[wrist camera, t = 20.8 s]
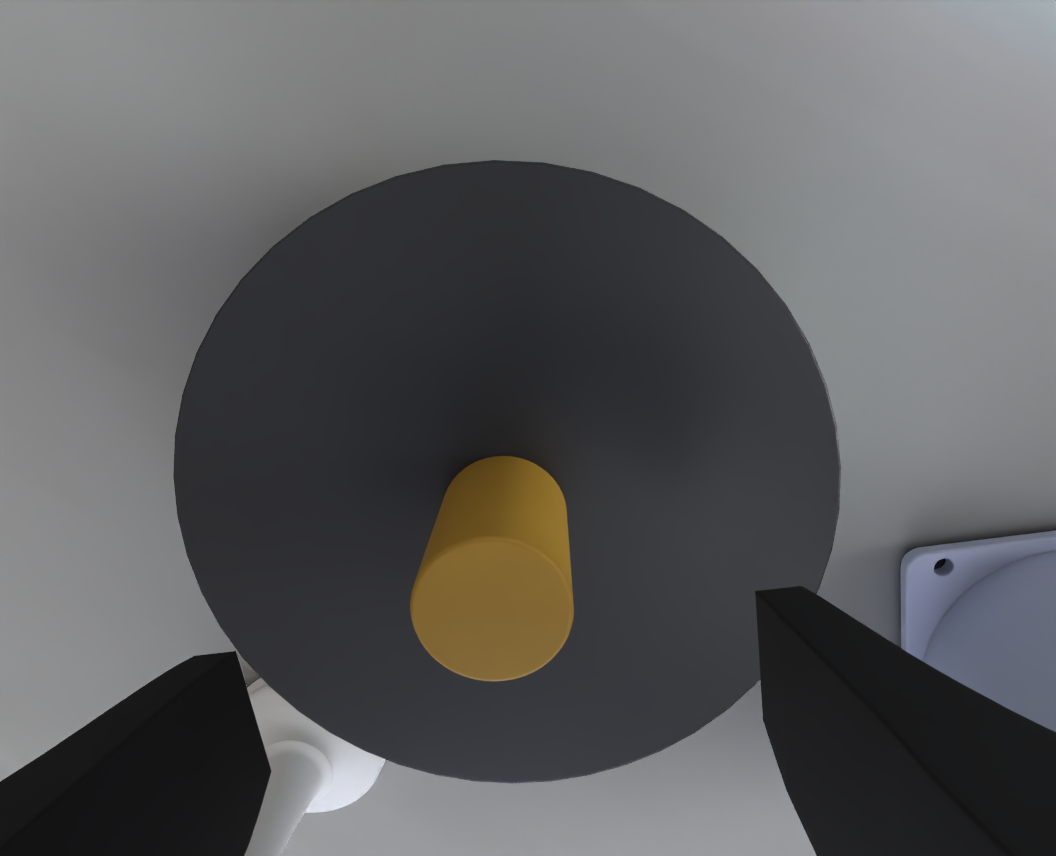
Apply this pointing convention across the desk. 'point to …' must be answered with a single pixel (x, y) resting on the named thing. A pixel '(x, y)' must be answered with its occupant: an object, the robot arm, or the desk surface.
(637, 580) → the lid
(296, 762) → the chess piece
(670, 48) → the desk surface
